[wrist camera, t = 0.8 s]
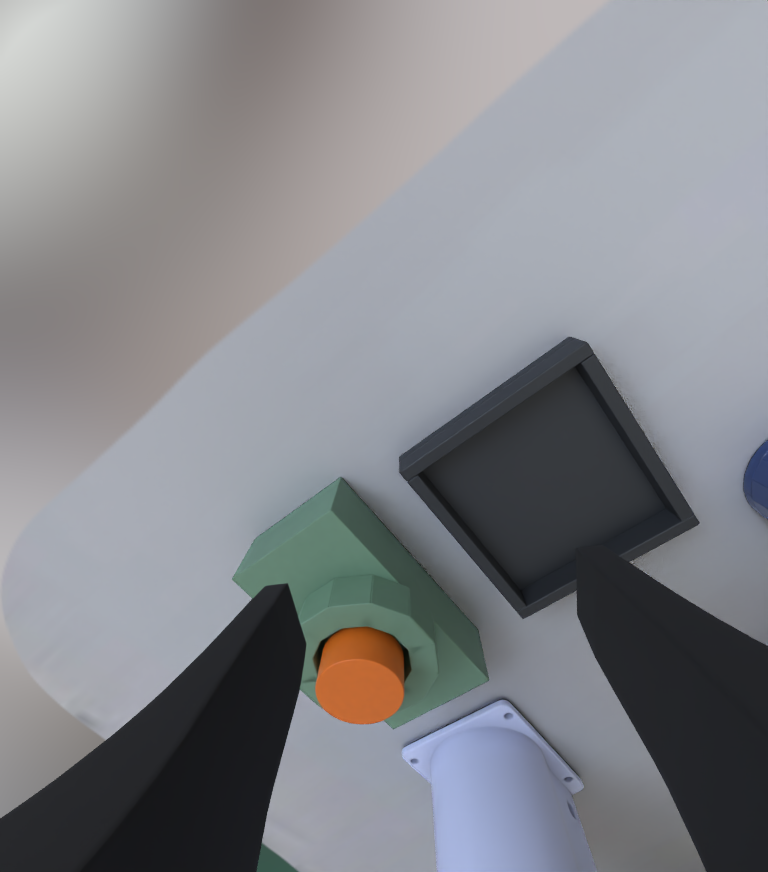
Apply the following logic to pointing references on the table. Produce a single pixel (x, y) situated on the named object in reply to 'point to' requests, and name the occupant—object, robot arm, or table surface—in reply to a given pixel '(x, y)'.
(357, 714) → the button
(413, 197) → the table surface
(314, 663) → the green button base
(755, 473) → the cup
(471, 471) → the tray
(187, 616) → the table surface
